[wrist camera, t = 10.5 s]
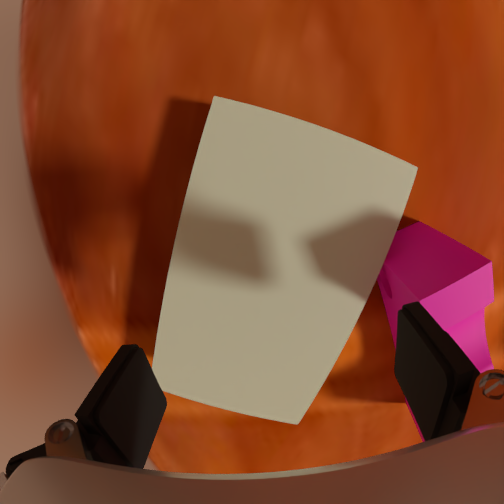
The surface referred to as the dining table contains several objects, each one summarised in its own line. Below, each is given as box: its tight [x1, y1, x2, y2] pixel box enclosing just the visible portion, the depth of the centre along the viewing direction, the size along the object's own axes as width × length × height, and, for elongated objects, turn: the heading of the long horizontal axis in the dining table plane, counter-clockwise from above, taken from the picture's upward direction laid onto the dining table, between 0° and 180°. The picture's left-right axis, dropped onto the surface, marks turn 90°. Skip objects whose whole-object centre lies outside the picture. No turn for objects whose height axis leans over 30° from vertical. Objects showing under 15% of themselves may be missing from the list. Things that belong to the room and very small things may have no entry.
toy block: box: [377, 221, 494, 442], centre depth 15 cm, size 15×6×8 cm, turn 25°
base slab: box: [152, 96, 418, 424], centre depth 17 cm, size 17×10×4 cm, turn 163°
